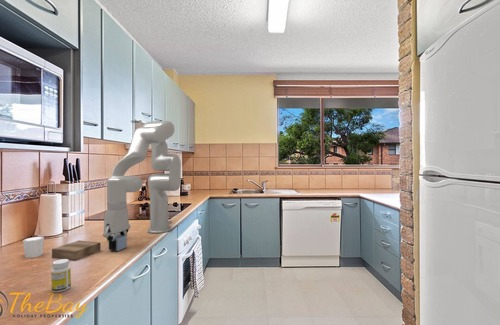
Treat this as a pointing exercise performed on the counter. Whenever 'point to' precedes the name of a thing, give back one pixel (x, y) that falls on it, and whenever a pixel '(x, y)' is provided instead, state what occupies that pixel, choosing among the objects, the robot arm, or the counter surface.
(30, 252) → the white short cylinder
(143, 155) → the robot arm
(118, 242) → the slate cube
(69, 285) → the supplement bottle
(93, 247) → the walnut block
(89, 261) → the counter surface
